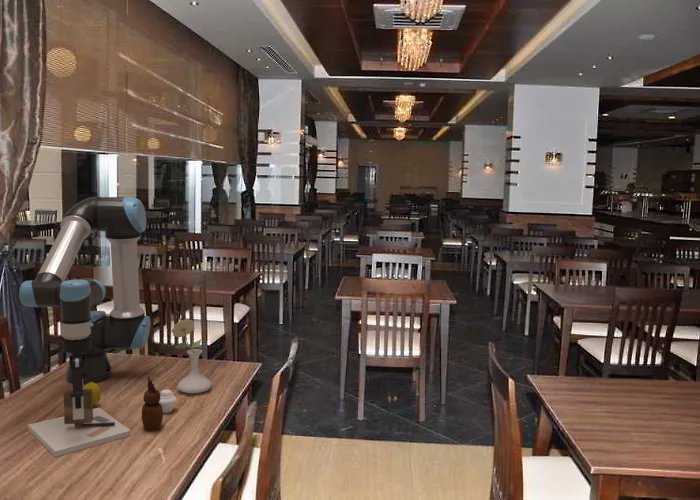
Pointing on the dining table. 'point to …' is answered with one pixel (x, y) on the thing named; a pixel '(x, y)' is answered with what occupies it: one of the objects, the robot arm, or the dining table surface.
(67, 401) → the dark wooden block
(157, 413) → the wooden figurine
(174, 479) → the dining table surface
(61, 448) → the dial board
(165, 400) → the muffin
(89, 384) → the lemon
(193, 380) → the flower in vase
